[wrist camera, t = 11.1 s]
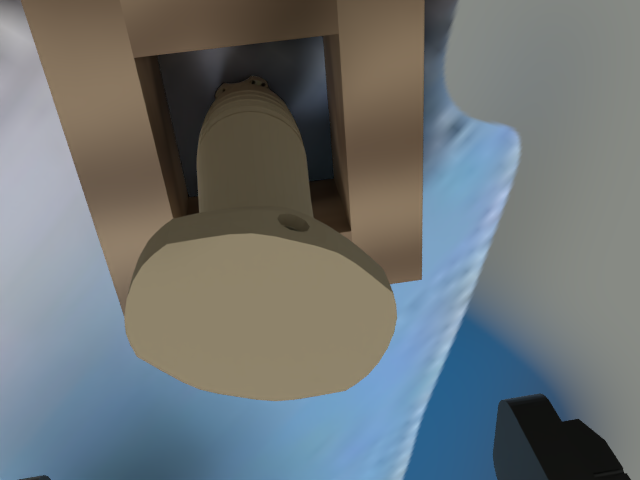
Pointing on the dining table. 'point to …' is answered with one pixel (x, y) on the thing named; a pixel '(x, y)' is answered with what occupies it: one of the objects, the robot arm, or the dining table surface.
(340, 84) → the walnut sleeve
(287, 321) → the handle
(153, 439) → the dining table surface
